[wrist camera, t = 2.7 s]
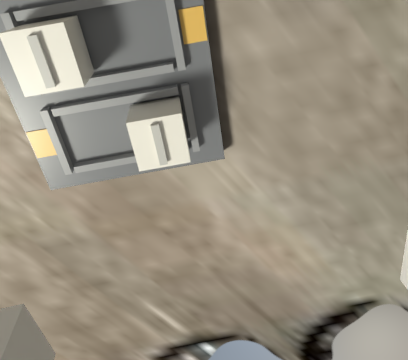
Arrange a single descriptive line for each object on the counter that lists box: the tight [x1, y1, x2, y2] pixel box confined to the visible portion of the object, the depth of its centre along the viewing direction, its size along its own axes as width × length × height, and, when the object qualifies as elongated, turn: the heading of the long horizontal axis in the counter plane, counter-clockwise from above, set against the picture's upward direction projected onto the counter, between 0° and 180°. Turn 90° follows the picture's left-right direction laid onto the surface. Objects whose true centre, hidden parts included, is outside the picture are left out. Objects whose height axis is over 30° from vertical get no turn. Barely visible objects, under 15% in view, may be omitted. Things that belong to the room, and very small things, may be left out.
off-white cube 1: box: [0, 15, 94, 97], centre depth 24 cm, size 4×4×4 cm
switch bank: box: [0, 0, 225, 190], centre depth 28 cm, size 16×16×2 cm
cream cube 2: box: [126, 96, 191, 172], centre depth 28 cm, size 4×4×4 cm
